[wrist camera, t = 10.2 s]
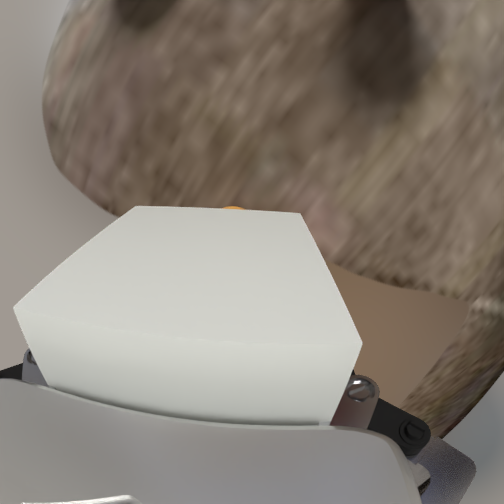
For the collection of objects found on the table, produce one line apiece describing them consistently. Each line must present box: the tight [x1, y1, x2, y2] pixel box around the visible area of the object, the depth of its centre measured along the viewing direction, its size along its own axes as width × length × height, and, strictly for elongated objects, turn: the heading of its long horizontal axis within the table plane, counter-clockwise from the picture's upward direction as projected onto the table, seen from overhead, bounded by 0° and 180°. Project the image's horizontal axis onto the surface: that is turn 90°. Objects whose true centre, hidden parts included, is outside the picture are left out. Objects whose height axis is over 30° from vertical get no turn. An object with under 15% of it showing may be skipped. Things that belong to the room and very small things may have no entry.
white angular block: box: [13, 206, 362, 426], centre depth 11 cm, size 8×8×9 cm
